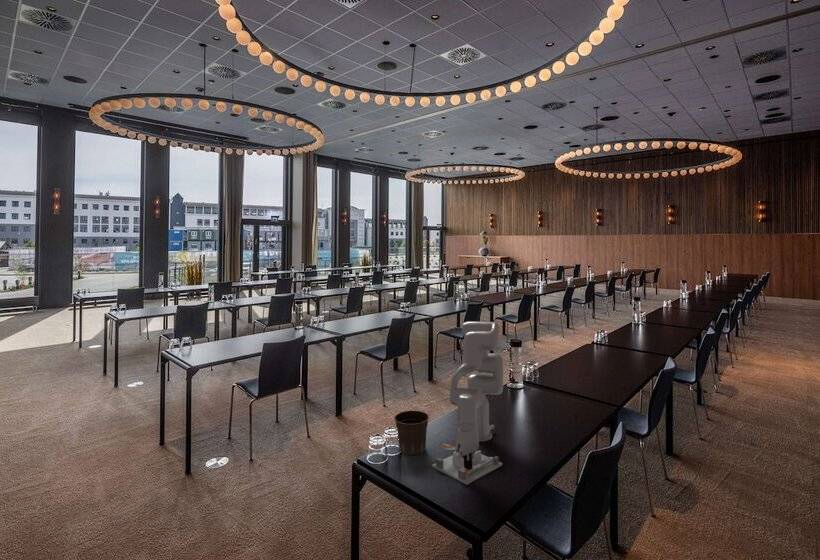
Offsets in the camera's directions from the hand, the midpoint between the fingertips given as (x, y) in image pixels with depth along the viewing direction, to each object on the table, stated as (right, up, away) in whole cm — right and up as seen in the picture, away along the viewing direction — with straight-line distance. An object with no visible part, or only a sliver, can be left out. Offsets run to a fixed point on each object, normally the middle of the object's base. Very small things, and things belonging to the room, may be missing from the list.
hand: (468, 468), depth 185 cm
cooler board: (+1, -3, +10) cm, 10 cm away
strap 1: (-3, +2, +15) cm, 15 cm away
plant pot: (-23, -3, +26) cm, 35 cm away
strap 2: (+5, -1, +5) cm, 7 cm away
